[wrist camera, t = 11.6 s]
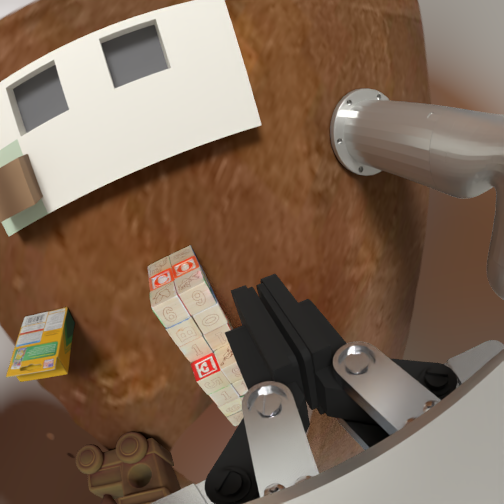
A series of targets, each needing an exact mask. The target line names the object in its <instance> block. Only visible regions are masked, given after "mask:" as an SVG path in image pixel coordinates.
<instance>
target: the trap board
mask: <svg viewBox="0 0 504 504" xmlns="http://www.w3.org/2000/svg"><path fill="white" fill-rule="evenodd" d="M257 126H261V122H260V118H259V114H258V111H257V107H256V104H255V100H254V96H253V93H252V89H251V86H250V82H249V79H248V76H247V72H246V69H245V65H244V62H243V59H242V55H241V52H240V49H239V45H238V42H237V39H236V36H235V32H234V29H233V26H232V23H231V20H230V16H229V13H228V10H227V7H226V4H225V1H224V0H195V1H190V2H186V3H182V4H178V5H174V6H170V7H166V8H162V9H159V10H155V11H152V12H149V13H145V14H142V15H139V16H136V17H133V18H130V19H127V20H124V21H121V22H119V23H116V24H113V25H111V26H108V27H105V28H103V29H100V30H98V31H95V32H93V33H91V34H88V35H86V36H84V37H82V38H79V39H77V40H75V41H73V42H71V43H69V44H66V45H64V46H62V47H60V48H58V49H56V50H54V51H52V52H51V53H49V54H47V55H45V56H43V57H41V58H39V59H38V60H36V61H34V62H32V63H30V64H29V65H27V66H25V67H24V68H22V69H20V70H19V71H17V72H15V73H14V74H12V75H11V76H9V77H8V78H6V79H5V80H3V81H1V82H0V168H1V167H2V166H4V165H6V164H8V163H9V162H11V161H13V160H15V159H16V158H18V157H21V156H23V155H26V154H28V156H29V159H30V162H31V165H32V168H33V171H34V173H35V176H36V179H37V182H38V184H39V187H40V190H41V192H42V195H43V197H42V198H41V199H40V200H39V201H38V202H37V203H36V204H35V205H33V206H31V207H29V208H27V209H25V210H23V211H21V212H19V213H17V214H15V215H14V216H12V217H10V218H8V219H6V220H4V221H3V222H2V224H3V226H4V228H5V230H6V232H7V234H8V236H11V235H12V234H14V233H16V232H17V231H19V230H21V229H22V228H24V227H26V226H28V225H29V224H31V223H33V222H35V221H36V220H38V219H40V218H42V217H43V216H45V215H47V214H49V213H51V212H53V211H54V210H56V209H58V208H60V207H62V206H64V205H66V204H68V203H70V202H72V201H74V200H75V199H77V198H79V197H81V196H83V195H85V194H87V193H90V192H92V191H94V190H96V189H98V188H100V187H102V186H104V185H106V184H108V183H111V182H113V181H115V180H117V179H119V178H121V177H124V176H126V175H128V174H130V173H133V172H135V171H137V170H140V169H142V168H144V167H147V166H149V165H152V164H154V163H156V162H159V161H161V160H164V159H166V158H169V157H171V156H174V155H176V154H179V153H182V152H184V151H187V150H190V149H192V148H195V147H198V146H200V145H203V144H206V143H209V142H212V141H215V140H217V139H220V138H223V137H226V136H229V135H232V134H235V133H238V132H241V131H245V130H248V129H251V128H254V127H257Z"/></svg>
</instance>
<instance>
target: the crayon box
mask: <svg viewBox="0 0 504 504" xmlns="http://www.w3.org/2000/svg"><path fill="white" fill-rule="evenodd" d="M74 325H75V322H74V320H73V318H72V316H71V314H70V312H69V310H68V308H67V307H64V308H62V309H57V310H53V311H49V312H44V313H40V314H36V315H31V316H26V317H25V318H24V321H23V324H22V327H21V330H20V333H19V336H18V339H17V342H16V345H15V348H14V351H13V355H12V359H11V362H10V365H9V368H8V371H7V375H6V377H13V376H17V378H18V379H19V381H20V382H23V381H29V380H36V379H42V378H48V377H54V376H59V375H65V374H68V369H69V360H70V351H71V343H72V337H73V331H74Z"/></svg>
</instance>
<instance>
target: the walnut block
mask: <svg viewBox="0 0 504 504" xmlns="http://www.w3.org/2000/svg"><path fill="white" fill-rule="evenodd" d="M42 197H43V195H42V192H41V190H40V187H39V184H38V182H37V179H36V176H35V173H34V171H33V168H32V165H31V162H30V159H29V156H28V154H26V155H23V156H21V157H18V158H16V159H15V160H13V161H11V162H9V163H8V164H6V165H4V166H2V167H1V168H0V223H1V222H3V221H4V220H6V219H8V218H10V217H12V216H14V215H15V214H17V213H19V212H21V211H23V210H25V209H27V208H29V207H31V206H33V205H35V204H36V203H37V202H38V201H39V200H40V199H41V198H42Z"/></svg>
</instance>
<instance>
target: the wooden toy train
mask: <svg viewBox="0 0 504 504" xmlns="http://www.w3.org/2000/svg"><path fill="white" fill-rule="evenodd" d="M76 465H77V467H78V468H79V470H80V471H81V472H82V473H85V474H88V485H89V490H90V491H91V492H92V493H94V494H95V495H97V496H99V497H101V498H103V499H102V501H101V503H100V504H117V503H116V502H115V500H114V499H118V502H119V504H150V503H152V502H155V501H157V500H159V499H161V498H164V497H166V496H168V495H170V494H172V493H175V492H177V491H179V490H181V488H180V485H179V482H178V480H177V477H176V475H175V472H174V470H173V468H172V466H174V463H173V459H172V455H171V453H170V452H169V451H168V450H167V449H165V448H164V447H163V446H162V445H160V444H159V443H158V442H157V441H155V440H154V439H153V438H150V439H147V440H146V438H145V437H144V436H143V435H142V434H140V433H137V432H128V433H126V434H124V435H123V436H121V437H120V438H119V440H118V441H117V444H116V449H114V450H111V451H108V452H102V451H101V449H100V448H99V447H98V446H96V445H92V444H90V445H85V446H83V447H82V448H81V449H80V450H79V451H78V453H77V455H76Z"/></svg>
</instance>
